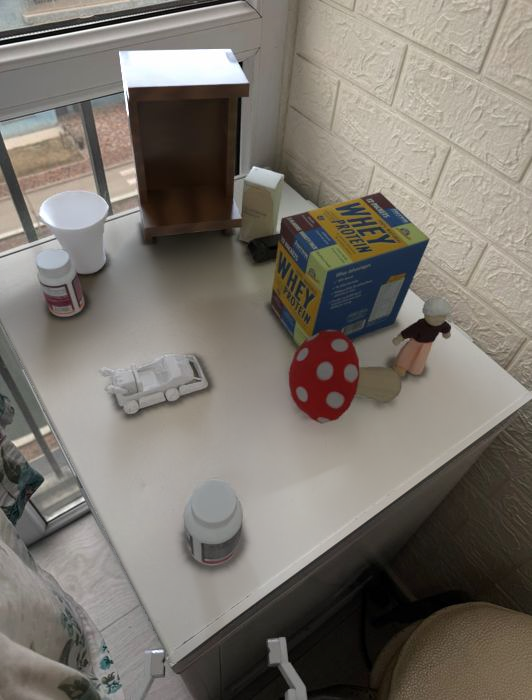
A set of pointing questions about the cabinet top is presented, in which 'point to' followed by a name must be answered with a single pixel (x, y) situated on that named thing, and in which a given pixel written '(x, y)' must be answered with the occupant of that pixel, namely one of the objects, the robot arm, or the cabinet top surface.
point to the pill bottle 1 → (59, 282)
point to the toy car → (154, 381)
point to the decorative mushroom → (335, 377)
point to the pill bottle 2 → (213, 522)
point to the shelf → (184, 137)
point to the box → (260, 203)
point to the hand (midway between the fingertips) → (216, 644)
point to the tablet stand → (263, 248)
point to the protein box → (345, 267)
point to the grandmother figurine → (422, 337)
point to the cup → (78, 227)
